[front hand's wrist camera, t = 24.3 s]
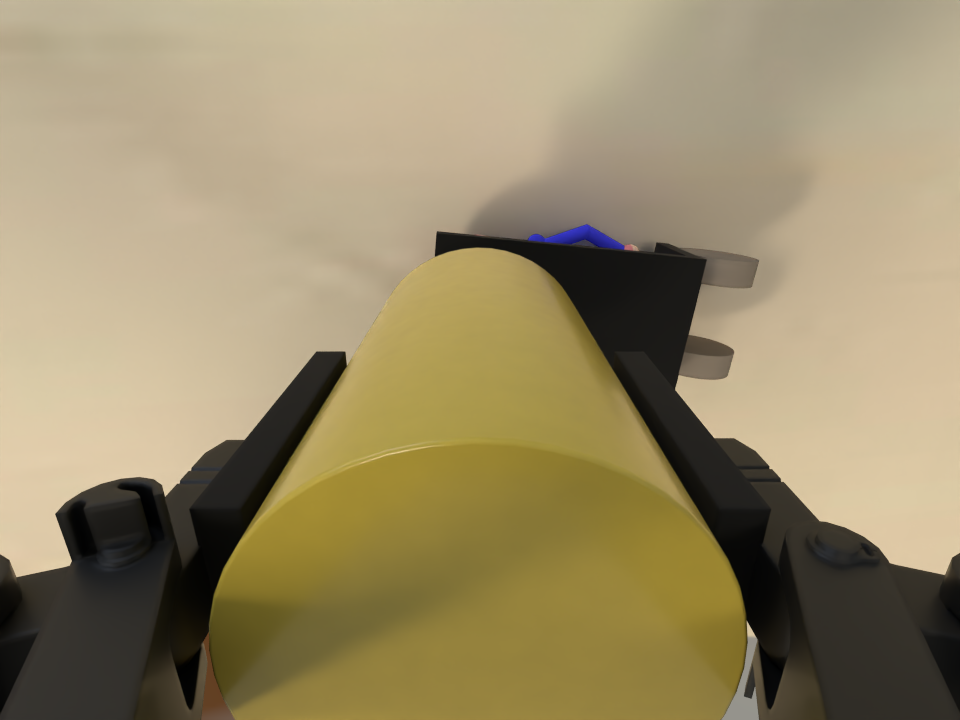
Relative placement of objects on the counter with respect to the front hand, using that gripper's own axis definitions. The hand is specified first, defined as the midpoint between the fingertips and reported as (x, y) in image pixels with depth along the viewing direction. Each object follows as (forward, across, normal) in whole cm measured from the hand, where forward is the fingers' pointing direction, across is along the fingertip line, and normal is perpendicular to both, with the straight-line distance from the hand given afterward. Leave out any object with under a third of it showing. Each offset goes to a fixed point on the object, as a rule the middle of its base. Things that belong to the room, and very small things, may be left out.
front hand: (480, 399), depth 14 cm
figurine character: (+15, +5, 0) cm, 16 cm away
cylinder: (+4, 0, 0) cm, 4 cm away
